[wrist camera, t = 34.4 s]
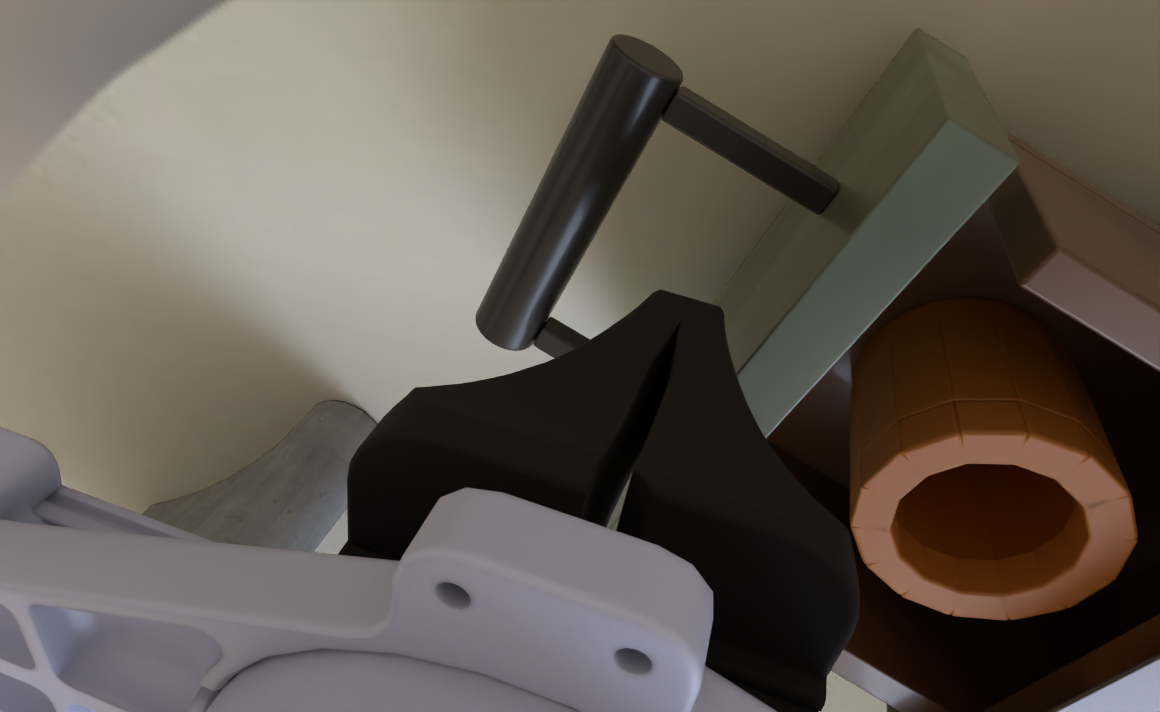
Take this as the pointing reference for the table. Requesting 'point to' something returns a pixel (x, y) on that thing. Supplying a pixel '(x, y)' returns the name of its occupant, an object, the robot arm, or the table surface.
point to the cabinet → (1098, 679)
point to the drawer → (883, 314)
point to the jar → (982, 465)
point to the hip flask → (280, 487)
